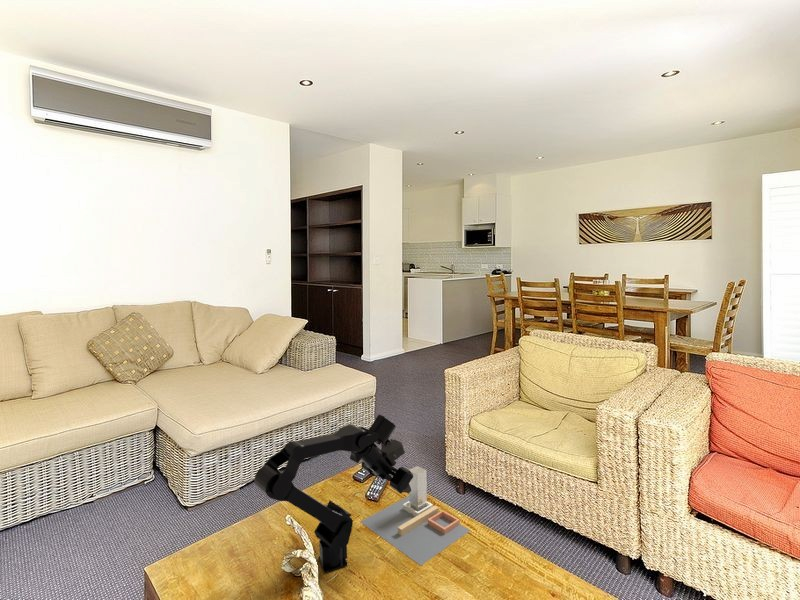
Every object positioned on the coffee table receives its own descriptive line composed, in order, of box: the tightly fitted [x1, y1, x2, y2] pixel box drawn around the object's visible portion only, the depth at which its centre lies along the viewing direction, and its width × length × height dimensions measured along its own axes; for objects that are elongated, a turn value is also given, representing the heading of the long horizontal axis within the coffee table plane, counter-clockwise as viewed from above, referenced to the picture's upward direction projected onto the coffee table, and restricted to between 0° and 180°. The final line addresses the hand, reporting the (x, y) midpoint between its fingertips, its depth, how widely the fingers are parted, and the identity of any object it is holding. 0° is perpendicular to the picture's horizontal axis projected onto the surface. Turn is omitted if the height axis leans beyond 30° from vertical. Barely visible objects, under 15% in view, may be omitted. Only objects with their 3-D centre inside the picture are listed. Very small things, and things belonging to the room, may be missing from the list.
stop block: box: [408, 465, 428, 512], centre depth 139 cm, size 4×4×13 cm
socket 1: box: [403, 501, 434, 516], centre depth 140 cm, size 7×7×2 cm
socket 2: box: [428, 509, 461, 534], centre depth 131 cm, size 7×7×2 cm
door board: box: [360, 495, 472, 566], centre depth 131 cm, size 21×26×4 cm
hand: (400, 485), depth 133 cm, fingers open, 9 cm apart
